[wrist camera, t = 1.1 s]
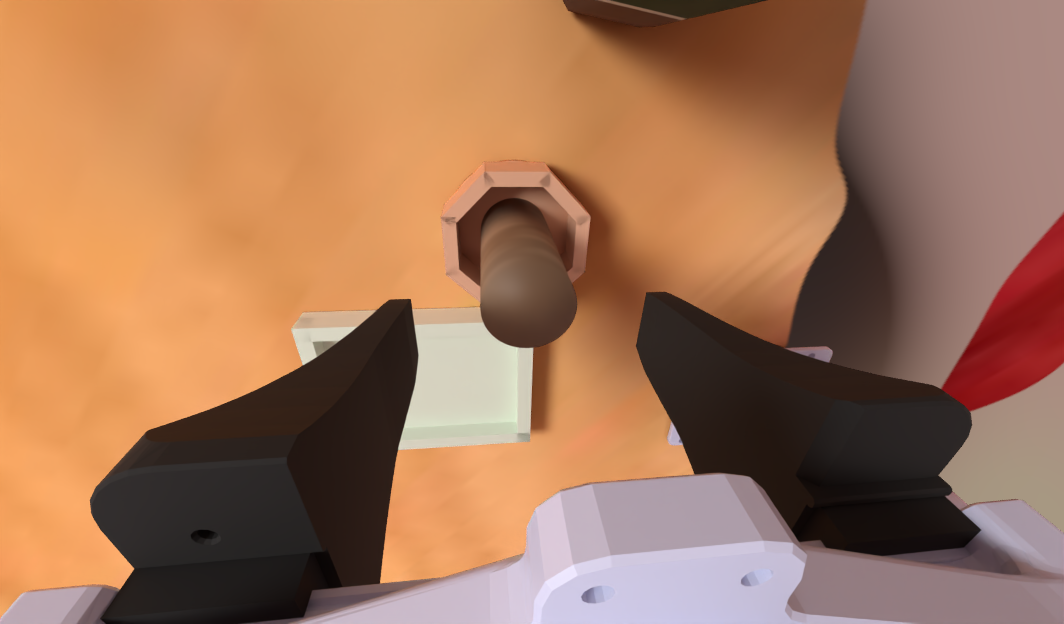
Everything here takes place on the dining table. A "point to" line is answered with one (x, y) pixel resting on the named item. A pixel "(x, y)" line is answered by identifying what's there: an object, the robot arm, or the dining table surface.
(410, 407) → the tray
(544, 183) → the holder
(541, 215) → the peg
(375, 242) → the dining table surface
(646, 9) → the beer bottle
